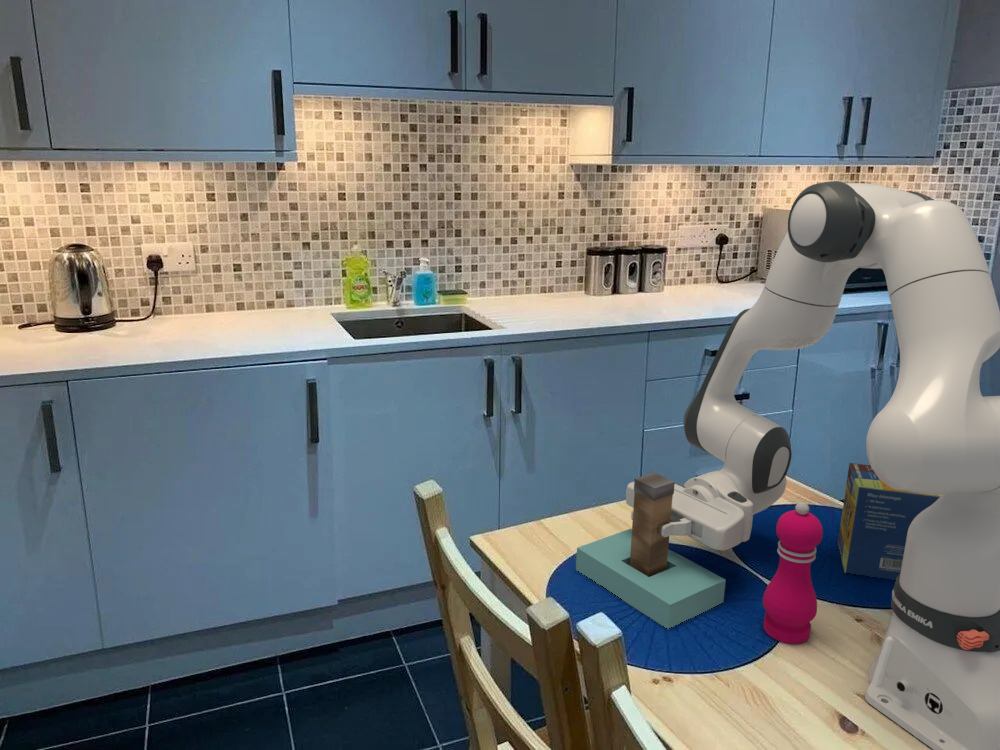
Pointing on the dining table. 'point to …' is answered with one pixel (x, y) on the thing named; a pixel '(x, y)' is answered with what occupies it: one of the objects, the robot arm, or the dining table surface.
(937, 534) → the robot arm
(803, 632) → the pepper mill
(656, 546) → the peg
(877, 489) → the protein box
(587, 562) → the post foot
